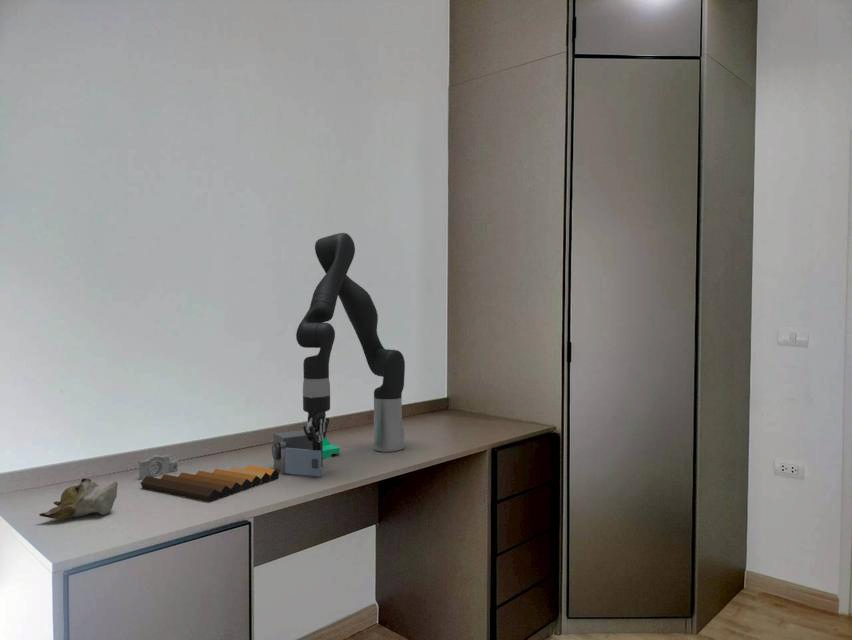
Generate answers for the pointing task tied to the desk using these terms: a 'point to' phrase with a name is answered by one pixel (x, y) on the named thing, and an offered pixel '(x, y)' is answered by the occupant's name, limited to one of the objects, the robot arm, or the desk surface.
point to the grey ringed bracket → (161, 462)
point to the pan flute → (211, 482)
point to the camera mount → (329, 448)
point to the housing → (290, 444)
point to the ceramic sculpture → (84, 500)
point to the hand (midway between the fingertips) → (317, 454)
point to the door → (301, 461)
